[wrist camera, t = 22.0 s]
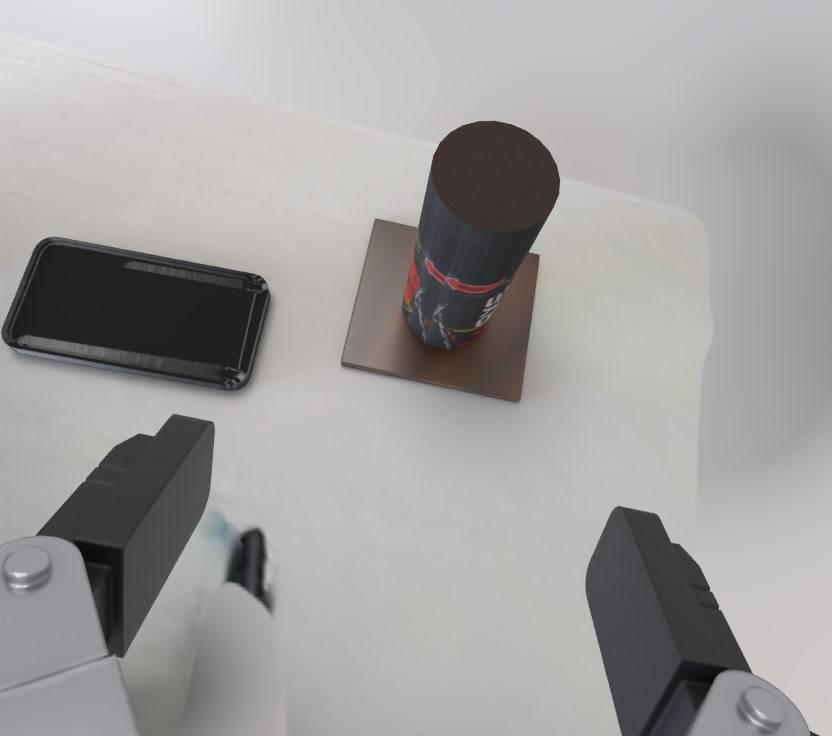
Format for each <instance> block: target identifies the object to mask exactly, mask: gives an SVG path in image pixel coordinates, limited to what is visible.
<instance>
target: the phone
mask: <svg viewBox="0 0 832 736" xmlns="http://www.w3.org/2000/svg"><path fill="white" fill-rule="evenodd" d="M269 301H270V293H269V289H268V285H267V283H266V281H265V280H264V279H263V278H262V277H261V276H259V275H256V274H252V273H247V272H241V271H236V270H231V269H225V268H220V267H215V266H209V265H204V264H199V263H193V262H188V261H183V260H178V259H172V258H167V257H162V256H156V255H151V254H146V253H140V252H135V251H130V250H125V249H119V248H114V247H109V246H103V245H98V244H93V243H87V242H82V241H77V240H72V239H66V238H61V237H49V238H46V239H44V240H42V241H40V242H39V243H38V244H37V245H36V247H35V249H34V251H33V253H32V256H31V258H30V261H29V263H28V266H27V268H26V270H25V273H24V275H23V278H22V280H21V283H20V285H19V288H18V290H17V293H16V295H15V298H14V300H13V303H12V305H11V307H10V310H9V312H8V315H7V317H6V320H5V322H4V325H3V327H2V332H1V333H2V338H3V340H4V342H5V343H6V344H7V345H9V346H10V347H11V348H13V349H14V350H16V351H17V352H19V353H22V354H26V355H32V356H37V357H43V358H48V359H54V360H60V361H65V362H71V363H76V364H82V365H88V366H93V367H99V368H105V369H110V370H116V371H121V372H127V373H133V374H138V375H144V376H149V377H155V378H161V379H166V380H172V381H177V382H183V383H189V384H194V385H200V386H206V387H211V388H217V389H222V390H232V391H233V390H237V389H240V388H241V387H243V386H244V385H245V384H246V383H247V382H248V380H249V378H250V375H251V371H252V367H253V363H254V359H255V355H256V351H257V348H258V344H259V340H260V336H261V332H262V328H263V324H264V320H265V316H266V312H267V308H268V305H269Z"/></svg>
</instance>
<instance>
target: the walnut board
mask: <svg viewBox="0 0 832 736" xmlns="http://www.w3.org/2000/svg"><path fill="white" fill-rule="evenodd" d="M417 231H418V228H416V227H412V226H407V225H402V224H398V223H393V222H389V221H384V220H380V219H375V221H374V225H373V229H372V234H371V238H370V242H369V246H368V250H367V254H366V259H365V263H364V267H363V271H362V275H361V279H360V284H359V288H358V292H357V296H356V300H355V305H354V309H353V313H352V317H351V321H350V325H349V330H348V334H347V338H346V342H345V346H344V350H343V355H342V359H341V365H344V366H349V367H354V368H359V369H363V370H368V371H373V372H378V373H382V374H387V375H392V376H397V377H401V378H406V379H411V380H416V381H420V382H425V383H430V384H435V385H439V386H444V387H449V388H453V389H458V390H463V391H468V392H472V393H477V394H482V395H487V396H491V397H496V398H501V399H506V400H510V401H515V402H518V401H519V400H520V399H521V391H522V384H523V376H524V369H525V361H526V354H527V346H528V339H529V332H530V324H531V317H532V309H533V302H534V294H535V287H536V279H537V272H538V265H539V257H540V255H538V254H533V253H529V252H528V253H527V255H526V257H525V259H524V260H523V262H522V264H521V266H520V267H519V269H518V271H517V273H516V275H515V276H514V278H513V280H512V282H511V283H510V285H509V287H508V289H507V290H506V292H505V294H504V296H503V297H502V299H501V301H500V303H499V305H498V306H497V308H496V310H495V312H494V313H493V315H492V317H491V319H490V320H489V322H488V324H487V326H486V327H485V329H484V331H483V332H482V333H481V335H480V336H479V337H478V338H477V339H476V340H475V341H473V342H472V343H470V344H469V345H467V346H464V347H461V348H458V349H440V348H435V347H432V346H430V345H428V344H426V343H424V342H422V341H421V340H420V339H418V338H417V337H416V336H415V335H414V334H413V333H412V331H411V330H410V329H409V328H408V326H407V324H406V321H405V319H404V316H403V308H402V305H403V298H404V293H405V288H406V284H407V279H408V274H409V269H410V265H411V260H412V255H413V250H414V246H415V241H416V236H417Z"/></svg>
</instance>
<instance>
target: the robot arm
mask: <svg viewBox="0 0 832 736" xmlns="http://www.w3.org/2000/svg"><path fill="white" fill-rule="evenodd" d="M214 435H215V427H214V423H213V422H211V421H207V420H202V419H197V418H192V417H187V416H182V415H177V414H173V415H172V416H171V417H170V418H169V419H168V420H167V422H166V423H165V424H164V425H163V427H162V428H161V429H160V430H159V432H158V433H157V434H156V435H155V436H149V435H144V434H137V435H135V436H134V437H132V438H130V439H128V440H126V441H124V442H122V443H120V444H118V445H116V446H115V447H114V448H113V449H112V450H111V451H110V452H109V453H108V455H107V456H106V457H105V458H104V459H103V460H102V461H101V462H100V464H99V467H98V468H97V467H96V468H95V469H94V470H93V471H92V473H91V474H90V475H89V476H88V477H87V478H86V482H83V483H82V484H81V485H80V486H79V487H78V488H77V489H76V491H75V492H74V493H73V494H72V495H71V496H70V497H69V498H68V500H67V501H66V502H65V503H64V504H63V505H62V506H61V507H60V509H59V510H58V511H57V512H56V513H55V514H54V515H53V516H52V518H51V519H50V520H49V521H48V522H47V523H46V524H45V525H44V527H43V528H42V529H41V530H40V531H39V532H38V533H37V534H36V536H31V537H25V538H20V539H16V540H13V541H10V542H7V543H5V544H2V545H0V736H140V734H139V731H138V727H137V724H136V720H135V717H134V713H133V709H132V706H131V702H130V699H129V695H128V692H127V688H126V684H125V681H124V677H123V674H122V670H121V667H120V664H119V661H118V658H117V657H120V658H123V657H124V655H125V654H126V652H127V650H128V648H129V646H130V645H131V643H132V641H133V639H134V637H135V636H136V634H137V632H138V630H139V628H140V627H141V625H142V623H143V621H144V619H145V618H146V616H147V614H148V612H149V610H150V609H151V607H152V605H153V603H154V601H155V600H156V598H157V596H158V594H159V592H160V591H161V589H162V587H163V585H164V583H165V582H166V580H167V578H168V576H169V574H170V573H171V571H172V569H173V567H174V565H175V564H176V562H177V560H178V558H179V557H180V555H181V553H182V551H183V549H184V548H185V546H186V544H187V542H188V540H189V539H190V537H191V535H192V533H193V531H194V530H195V528H196V526H197V524H198V522H199V521H200V519H201V517H202V515H203V512H204V510H205V507H206V504H207V500H208V496H209V492H210V485H211V473H212V460H213V447H214ZM709 590H710V587H709V585H708V583H707V581H706V579H705V577H704V575H703V573H702V570H701V568H700V566H699V565H698V564H697V563H696V562H695V561H694V560H693V559H692V557H691V556H690V555H689V554H688V553H687V552H686V551H685V550H684V549H683V548H682V547H681V546H680V545H679V544H674V543H671V542H670V539H669V537H668V535H667V533H666V531H665V529H664V526H663V524H662V522H661V520H660V518H659V516H658V515H657V514H655V513H650V512H645V511H640V510H635V509H630V508H625V507H621V506H618V507H616V508H615V509H614V510H613V511H612V512H611V514H610V517H609V519H608V521H607V523H606V526H605V528H604V530H603V533H602V535H601V537H600V539H599V542H598V544H597V546H596V549H595V551H594V553H593V555H592V558H591V560H590V562H589V565H588V569H587V574H586V596H587V600H588V604H589V608H590V612H591V616H592V619H593V623H594V627H595V631H596V635H597V639H598V643H599V647H600V651H601V655H602V659H603V663H604V667H605V671H606V675H607V678H608V682H609V686H610V690H611V694H612V698H613V702H614V706H615V710H616V714H617V718H618V722H619V726H620V730H621V734H622V736H819V735H817V734H815V733H813V732H811V731H809V728H808V725H807V723H806V721H805V719H804V717H803V716H802V714H801V713H800V711H799V710H798V708H797V707H796V706H795V705H794V703H793V702H792V701H790V699H789V698H788V697H787V696H786V695H785V694H783V693H782V692H781V691H780V690H779V689H777V688H776V687H775V686H774V685H772V684H771V683H769V682H767V681H766V680H764V679H762V678H760V677H758V676H756V675H754V674H753V673H752V671H751V669H750V667H749V666H748V663H747V661H746V659H745V657H744V655H743V653H742V651H741V649H740V647H739V645H738V643H737V641H736V639H735V637H734V635H733V633H732V631H731V629H730V627H729V625H728V623H727V621H726V619H725V617H724V615H723V613H722V611H721V610H719V605H718V603H717V601H716V599H715V597H714V595H713V593H712V592H710V591H709Z"/></svg>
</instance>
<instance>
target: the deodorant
mask: <svg viewBox="0 0 832 736" xmlns="http://www.w3.org/2000/svg"><path fill="white" fill-rule="evenodd" d="M559 187H560V177H559V173H558V169H557V165H556V163H555V161H554V159H553V157H552V155H551V153H550V152H549V151H548V149H547V148H546V147H545V146H544V145H543V144H542V143H541V142H540V140H538V139H537V138H535V137H534V136H533V135H531V134H530V133H529V132H527V131H526V130H523V129H521V128H518V127H516V126H514V125H511V124H507V123H502V122H497V121H478V122H474V123H470V124H466V125H463V126H461V127H459V128H457V129H456V130H454V131H452V132H450V133H449V134H448V135H447V136H446V137H445V138H444V139H443V141H441V142H440V144H439V146H438V148H437V150H436V152H435V154H434V155H433V160H432V165H431V170H430V174H429V179H428V184H427V189H426V193H425V198H424V203H423V208H422V212H421V217H420V222H419V227H418V231H417V236H416V241H415V246H414V250H413V255H412V260H411V265H410V269H409V274H408V279H407V284H406V288H405V293H404V298H403V305H402V308H403V316H404V319H405V321H406V324H407V326H408V328H409V329H410V330H411V331H412V333H413V334H414V335H415V336H416V337H417V338H418V339H420V340H421V341H422V342H424V343H426V344H428V345H430V346H432V347H435V348H440V349H458V348H461V347H464V346H467V345H469V344H470V343H472V342H473V341H475V340H476V339H477V338H478V337H479V336H480V335H481V333H482V332H483V331H484V329H485V327H486V326H487V324H488V322H489V320H490V319H491V317H492V315H493V313H494V312H495V310H496V308H497V306H498V305H499V303H500V301H501V299H502V297H503V296H504V294H505V292H506V290H507V289H508V287H509V285H510V283H511V282H512V280H513V278H514V276H515V275H516V273H517V271H518V269H519V267H520V266H521V264H522V262H523V260H524V259H525V257H526V255H527V253H528V252H529V250H530V248H531V246H532V244H533V243H534V241H535V239H536V237H537V236H538V234H539V232H540V230H541V229H542V227H543V225H544V223H545V222H546V220H547V218H548V216H549V214H550V213H551V211H552V209H553V207H554V205H555V203H556V200H557V198H558V195H559Z"/></svg>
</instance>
